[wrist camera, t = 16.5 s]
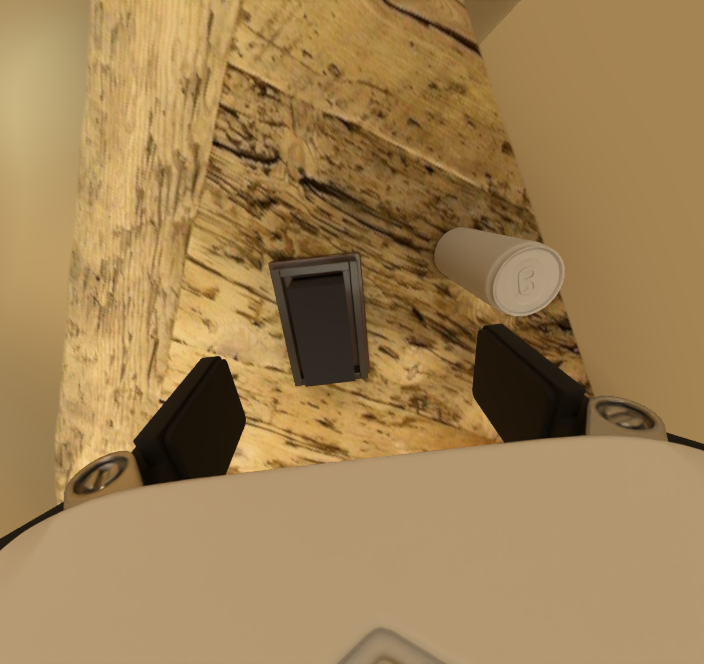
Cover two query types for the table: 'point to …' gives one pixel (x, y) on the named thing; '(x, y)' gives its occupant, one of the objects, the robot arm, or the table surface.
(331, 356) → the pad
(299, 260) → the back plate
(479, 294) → the beverage can
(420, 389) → the table surface
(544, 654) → the robot arm
